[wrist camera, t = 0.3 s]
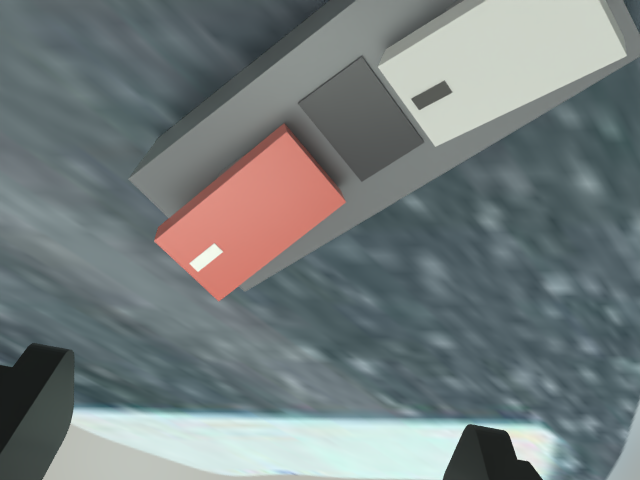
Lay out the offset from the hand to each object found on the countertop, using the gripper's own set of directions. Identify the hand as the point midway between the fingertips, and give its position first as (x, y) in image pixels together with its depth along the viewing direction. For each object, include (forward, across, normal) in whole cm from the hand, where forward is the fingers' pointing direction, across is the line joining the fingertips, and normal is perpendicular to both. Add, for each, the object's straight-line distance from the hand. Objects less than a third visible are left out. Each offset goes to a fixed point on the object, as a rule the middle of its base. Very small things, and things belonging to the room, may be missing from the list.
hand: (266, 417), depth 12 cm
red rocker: (+17, +2, +4) cm, 17 cm away
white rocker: (+15, -6, -6) cm, 18 cm away
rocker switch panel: (+23, -2, -2) cm, 23 cm away
